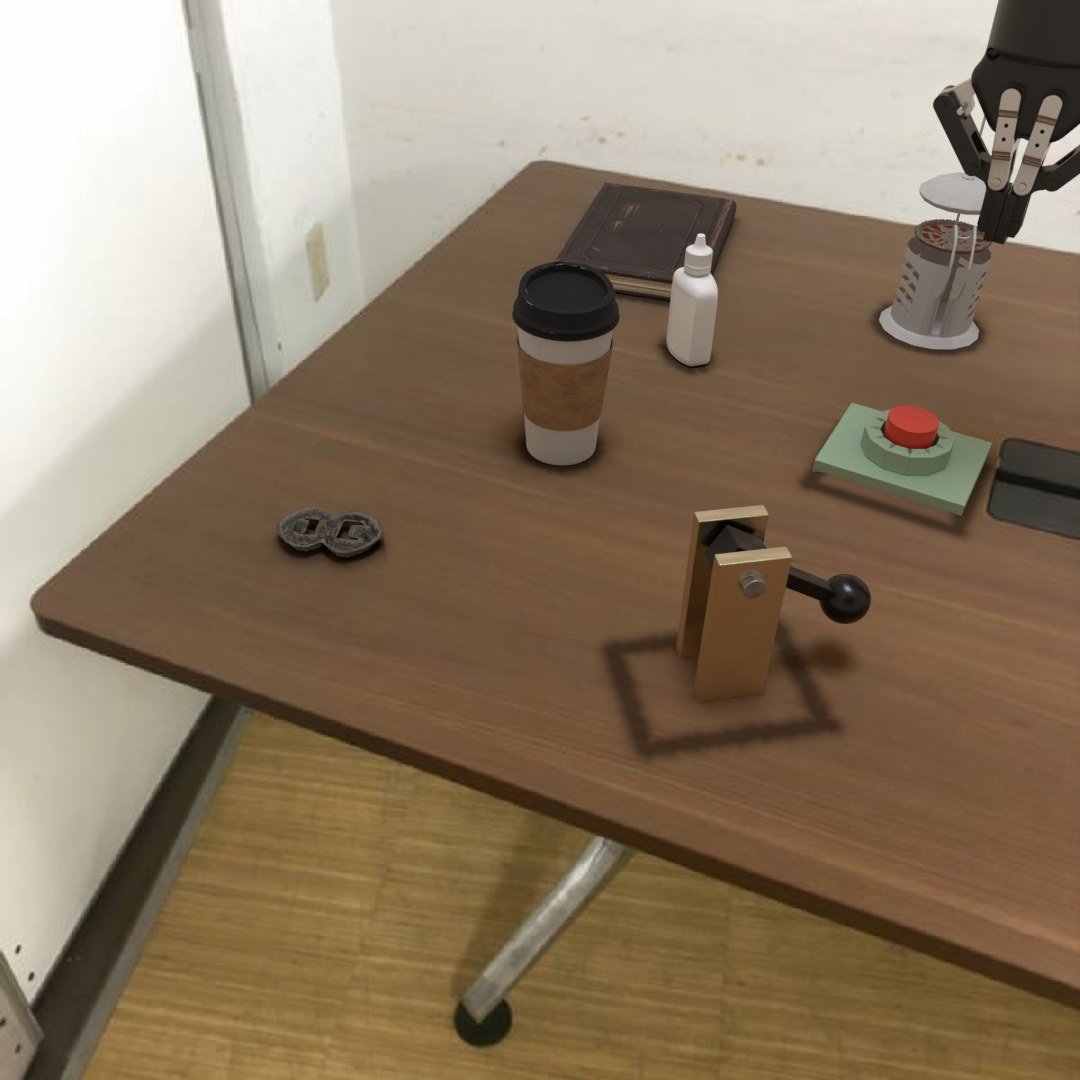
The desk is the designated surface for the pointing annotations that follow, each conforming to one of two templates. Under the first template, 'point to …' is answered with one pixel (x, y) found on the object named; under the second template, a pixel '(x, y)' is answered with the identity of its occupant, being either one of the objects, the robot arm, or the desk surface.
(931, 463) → the control block
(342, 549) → the corroded twin loop
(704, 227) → the hardcover book
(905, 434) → the button
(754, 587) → the wooden lever mount
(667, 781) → the desk surface
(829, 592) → the black lever handle
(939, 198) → the french press
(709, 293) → the eye dropper bottle
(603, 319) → the coffee cup
